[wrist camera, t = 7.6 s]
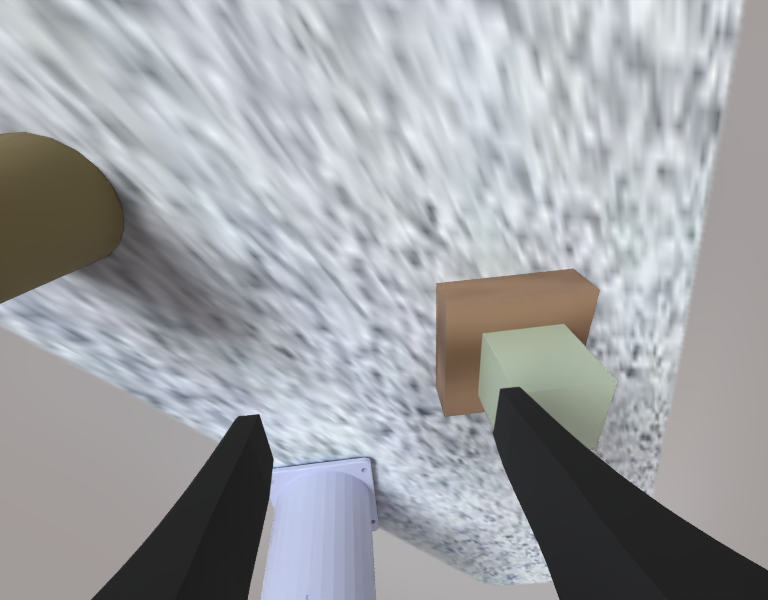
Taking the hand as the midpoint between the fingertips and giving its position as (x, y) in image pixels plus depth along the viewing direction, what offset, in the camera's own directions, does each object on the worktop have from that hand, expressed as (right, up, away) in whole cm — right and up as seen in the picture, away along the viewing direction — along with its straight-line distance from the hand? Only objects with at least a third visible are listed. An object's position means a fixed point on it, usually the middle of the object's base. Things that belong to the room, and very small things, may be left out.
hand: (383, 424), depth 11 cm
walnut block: (+7, +2, +12) cm, 14 cm away
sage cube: (+8, 0, +10) cm, 12 cm away
